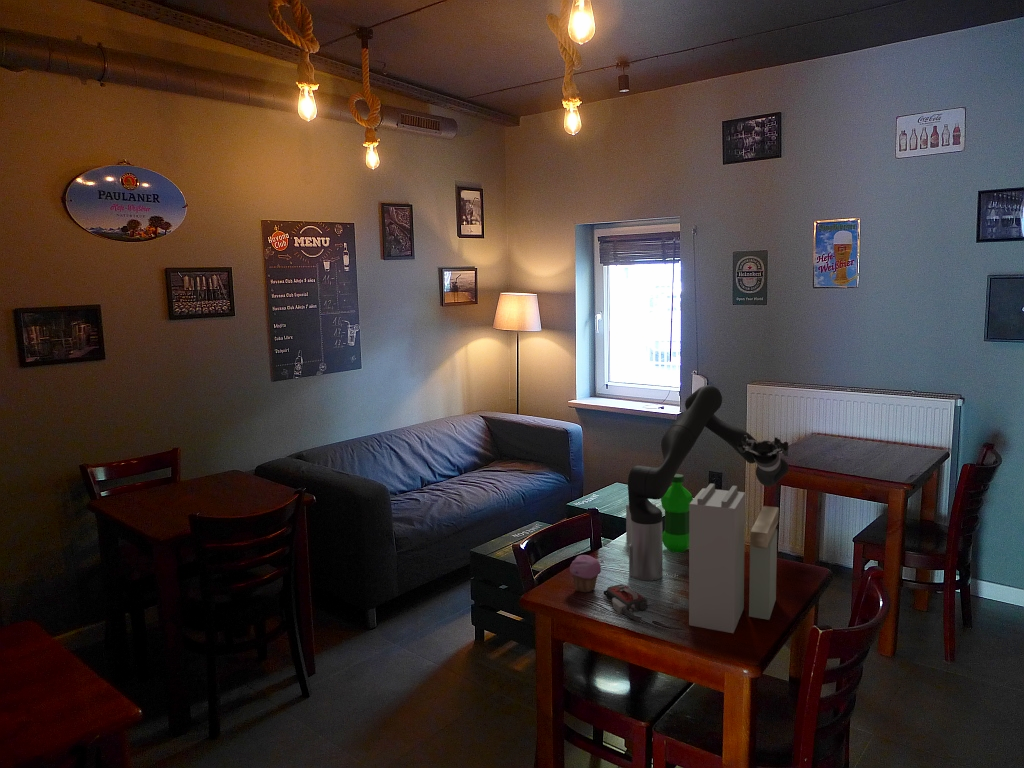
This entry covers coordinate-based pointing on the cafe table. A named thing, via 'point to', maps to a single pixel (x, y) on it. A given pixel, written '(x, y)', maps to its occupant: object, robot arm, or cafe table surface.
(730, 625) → the grey stand
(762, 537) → the birch bar
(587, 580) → the cupcake
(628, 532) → the small box
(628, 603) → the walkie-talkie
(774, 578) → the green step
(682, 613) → the cafe table surface
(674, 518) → the plastic bottle
